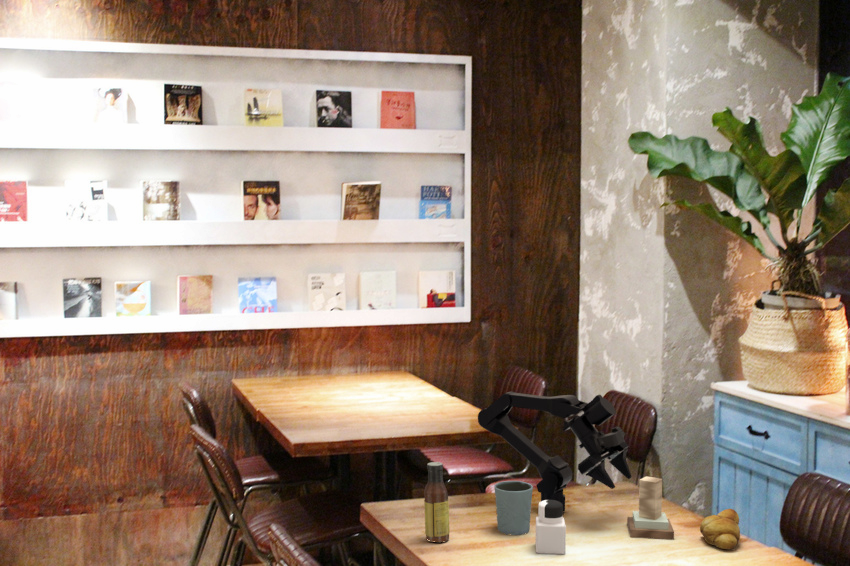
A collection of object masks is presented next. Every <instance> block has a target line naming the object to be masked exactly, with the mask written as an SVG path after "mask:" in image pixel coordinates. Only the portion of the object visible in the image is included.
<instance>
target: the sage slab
mask: <svg viewBox="0 0 850 566" xmlns="http://www.w3.org/2000/svg"><path fill="white" fill-rule="evenodd" d="M632 517H633V522H634V526H635V528H639V529H658V530H669V522H668V519H669V518H668V517H667V515H666V513H665V512H662V516H661V517H660V518H658V519H657V520H651V519H646V518H641V517H639V510H632Z"/></svg>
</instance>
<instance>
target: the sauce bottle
mask: <svg viewBox="0 0 850 566" xmlns="http://www.w3.org/2000/svg"><path fill="white" fill-rule="evenodd" d="M426 468H427V472H428V473H427V480H428V481H427V483H426V484H425V487H424V492H423V494H424V500H423V501H424V504H423V505H424V507H423V508H424V531H425V532H424V534H425V539H426V538H427V539H428V540H430V541H435V542H442V543H444V542H443V541H446V542H447V541H449V539H450V511H449V509H450V508H449V507H450V506H449V495H448V490H447V489H448V488H446V485H445V483H444V477H443V469H444V464H443V463H442V462H440V461H431V462H428V463H427V465H426ZM427 539H426V540H427ZM428 540H427V541H428Z"/></svg>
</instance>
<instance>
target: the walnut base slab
mask: <svg viewBox="0 0 850 566" xmlns="http://www.w3.org/2000/svg"><path fill="white" fill-rule="evenodd" d="M667 519H668V522H669V530H658V529H639V528H635V526H634V522H633V516H627V522H626V523H627V528H628V533H629V537H630V538H636V539H637V538H638V539H639V538H642V539H659V540H675V530H674V528H673V525H672V523H671V520H670V518H667Z"/></svg>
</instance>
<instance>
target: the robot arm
mask: <svg viewBox="0 0 850 566" xmlns="http://www.w3.org/2000/svg"><path fill="white" fill-rule="evenodd" d="M512 408H518V409H519V408H520V409H527V410H534V411H543V412H546V413H548V414H550V415H552V416H554V417H558V418H561V419H566V420H564V421H563V427H562V431H563V432H566V431H568V430H571V431H572V433H573V434H574V436H575V437H576V438H577V440H578V441H579V443H580V444H579V445H578V446H579V448H580V449H584V450H585V451H586V452H587V454H588V455H589V456H587V457H585V459H582V461H581V462H579V463H578V464H577V469H578V471H579V473H580V474H581V475H583V476H584V474H585V476H586V477H590V478H592V479H594V480H596V481H598V482H600V483H601V484H603V485H605V486H606V487H608V488H610V489H612V490H614V489H615V488H616V485H615V484H614V481H613V480H612V478H611V476H610V475H609V473H608V471H607V470H606V465H605V464H606V461H605V459H608V460H609V461H608V463H610V465H611V466H613V467H614V468H615V469H617V470H618V471H619V472H620V473H621V475H622V476H624V477H625V478H626V479H628V480H630V479H631V478H632V476H633V475H632V474H631V471H630V468H629V464H628V462H627V461H628V460H627V452H628V450H629V449H628V447H629V444H628V443H627V442H626V441H625V436H626V432H625V431H624V430H623V429H622V428H621V427H620V426H615V427H613V428H611V432H609V433H606V434H605V432H604V431H603V430H599V431H598V429H597V428H596V426H598V427H600V426H601V425H602V424H604V423H606V421H608V420H610V418H612V417H613V416H614V415H616V408H615V406H614V405H613V403H612V402H611V401H609V400H608V399H606V398H605V397H604V396H602V394H599V393H598V394H597V395H595V397H593V398H592V400H590V401H589V402H585V401H583V400H579V398H578V397H577V396H576V395H573V394H566V395H565V394H564V395H556V396H554V395H553V396H546V395H535V394H528V393H520V392H519V393H518V392H515V391H508V392H505V393H503V394H501V396H499V397H498V398H497V399H496V400H495V401H493V402H492V403H491V404H490V405H489V406H487V407H486V408H483V409H481V410H480V411H478V415H477V423H478V425H479V426H480V427H481V428H483V429H484V430H485V431H488V432H489V433H491V434H495V435H497V436H500V437H501V438H502V439H503V440H505V441H506V443H508V444H509V445H510V446H511V447H513V448H514V449H515V450H516V451H517V452H518V453H519V454H520V455H521V456H523V458H525V460H528V461H529V463H531V464H532V465H533V467H535V468H536V469H537V473H538V475H539V476H540V478H541V479H542V480H540V481H539V482H538V483H536V488H537V492H538V493H540V502H541V501H544V500H556V501H559V502H561V503H562V504H563V512H565V511H566V495H565V494H564V489H566V488H567V485H568V484H569V483H570V482H571V481H572V479H573V470H572V468H571V467H570V466H569V464H570V463H568V462H566V461H565V460H564V459H563V458H562V457H561V456H560V455H558V454H557V455H555V456H552V457H551V456H549V455H548V454H546V453H545V452H544V451H543V450H542V449H541V448H540V447H538V446H537V445H536V444H535V443H534V442H532V441H531V440H530V438H528V437H527V436H525V434H523V433H522V432H521V431H520V430H519V429H518V428H516V427H515V426H514V425H513V423H512V422H511V420H510V417H509V415H508V414H509V413H510V411H511V410H512ZM581 413H582V414H581ZM578 414H581V415H578ZM569 417H572V418H571V419H570V420H569V419H567V418H569ZM595 425H596V426H595Z"/></svg>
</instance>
